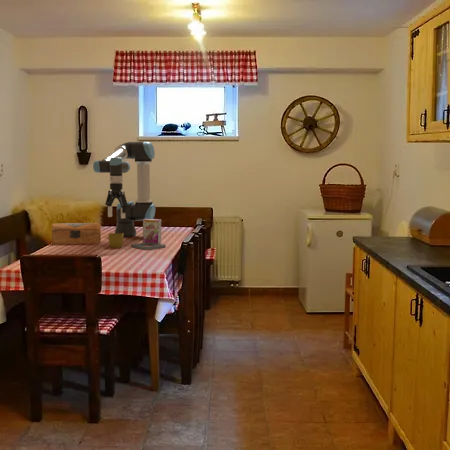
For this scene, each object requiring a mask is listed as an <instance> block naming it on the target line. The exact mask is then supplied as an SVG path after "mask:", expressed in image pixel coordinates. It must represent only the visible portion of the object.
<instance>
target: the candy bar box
mask: <svg viewBox="0 0 450 450" xmlns="http://www.w3.org/2000/svg"><path fill="white" fill-rule="evenodd" d="M149 242H152V243H159V244H162V219H157V218H153V219H143V221H142V243H149Z"/></svg>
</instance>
